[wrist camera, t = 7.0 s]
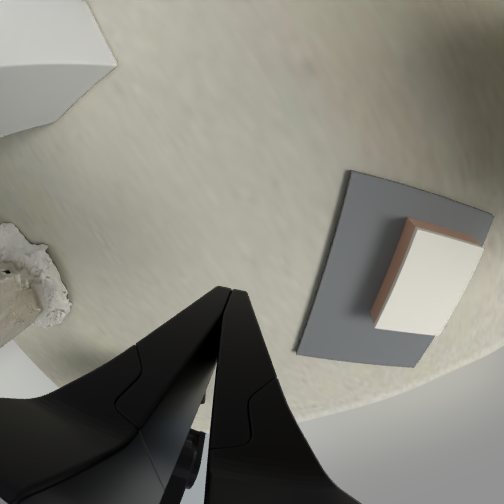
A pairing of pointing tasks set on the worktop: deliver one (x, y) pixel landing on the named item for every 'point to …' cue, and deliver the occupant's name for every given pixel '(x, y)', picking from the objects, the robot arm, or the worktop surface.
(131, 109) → the worktop surface
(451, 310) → the tile
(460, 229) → the mat
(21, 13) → the milk carton
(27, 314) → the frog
